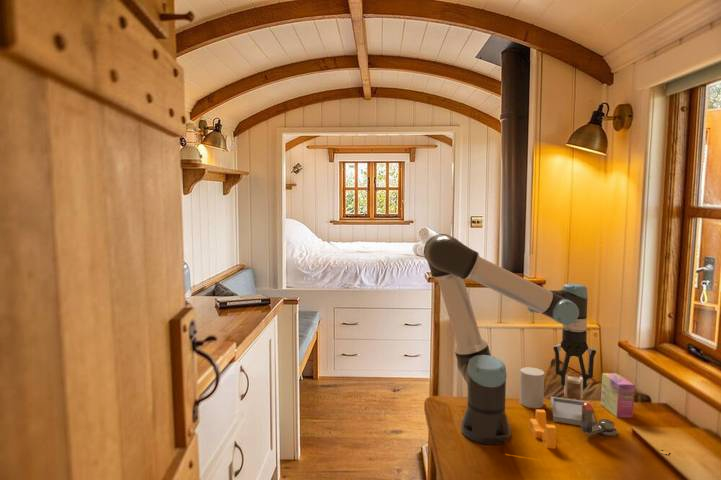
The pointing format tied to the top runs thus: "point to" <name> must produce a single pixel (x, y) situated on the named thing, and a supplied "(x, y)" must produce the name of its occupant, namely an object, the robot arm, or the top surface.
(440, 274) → the robot arm
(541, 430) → the orange stepped block
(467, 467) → the top surface
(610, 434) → the crank base
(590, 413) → the crank
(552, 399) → the tray
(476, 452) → the top surface
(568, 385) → the stop block
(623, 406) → the box
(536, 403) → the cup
